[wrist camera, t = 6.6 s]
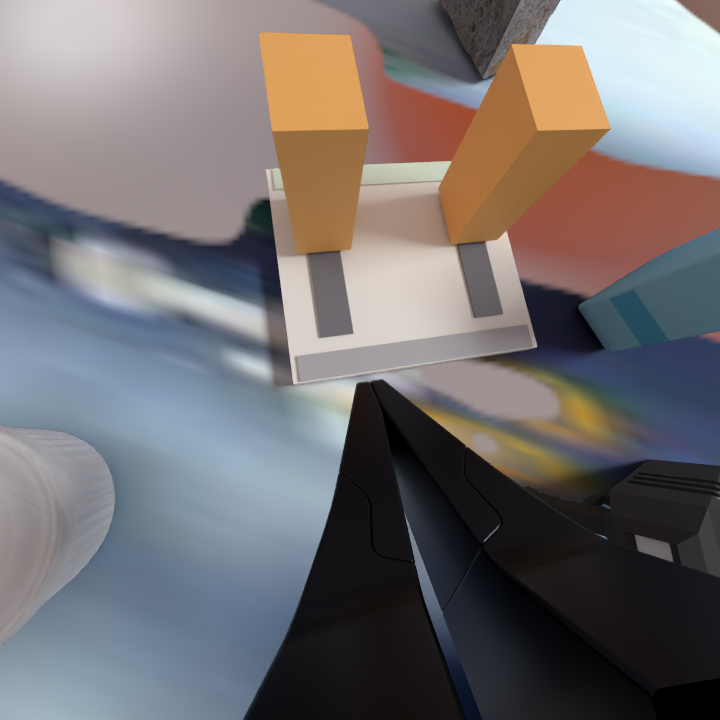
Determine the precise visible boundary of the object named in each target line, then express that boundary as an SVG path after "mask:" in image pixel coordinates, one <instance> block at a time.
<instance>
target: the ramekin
mask: <svg viewBox="0 0 720 720" xmlns="http://www.w3.org/2000/svg"><path fill="white" fill-rule="evenodd" d="M114 508H115V488H114V484H113V478H112V476H111V473H110V469H109V468H108V466H107V464H106V462H105V461H104V459H103V458H102V456H101V455H100V454H99V453H98V452H97V451H96V450H95V449H94V448H93V447H92V446H90V445H89V444H87V443H86V442H85V441H83V440H81V439H79V438H77V437H76V436H71V435H69V434H67V433H64V432H58V431H54V430H44V429H32V428H16V427H6V426H2V425H0V646H1V645H2V644H4V643H5V642H6V641H7V640H9V639H10V638H11V637H12V636H13V635H14V634H16V633H17V632H18V631H19V630H20V629H21V628H22V627H23V626H24V625H25V624H26V623H27V622H28V621H29V620H30V619H31V618H32V616H33V615H34V614H35V613H36V612H37V611H38V610H39V608H40V607H41V606H43V605H44V604H45V603H46V602H47V601H48V600H49V599H50V598H52V597H53V596H54V595H55V594H56V593H57V592H58V591H59V590H60V589H62V588H63V587H64V586H65V585H66V584H67V583H69V582H70V581H71V580H72V579H73V578H74V577H75V576H76V575H77V574H78V573H79V572H80V571H81V569H82V568H84V567H85V566H86V565H87V564H88V562H89V561H90V559H91V558H92V556H93V555H94V554H95V553H96V552H97V551H98V549H99V547H100V545H101V544H102V543H103V541H104V539H105V536H106V534H107V533H108V530H109V527H110V524H111V522H112V518H113V513H114Z"/></svg>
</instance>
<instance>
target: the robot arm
mask: <svg viewBox="0 0 720 720" xmlns="http://www.w3.org/2000/svg"><path fill="white" fill-rule="evenodd" d="M404 512H405V514H406V517H407V520H408V522H409V525H410V528H411V530H412V533H413V536H414V538H415V541H416V544H417V546H418V549H419V552H420V554H421V557H422V560H423V562H424V565H425V568H426V570H427V573H428V576H429V578H430V581H431V583H432V586H433V589H434V591H435V594H436V597H437V599H438V602H439V605H440V607H441V610H442V612H443V616H444V618H445V621H446V624H447V626H448V629H449V632H450V634H451V637H452V640H453V642H454V645H455V648H456V650H457V653H458V656H459V658H460V661H461V664H462V666H463V669H464V672H465V674H466V677H467V680H468V682H469V685H470V688H471V690H472V693H473V695H474V698H475V701H476V703H477V706H478V709H479V711H480V714H481V717H482V719H483V720H720V577H717V576H714V575H711V574H708V573H705V572H702V571H699V570H696V569H693V568H690V567H687V566H684V565H680V564H677V563H674V562H671V561H668V560H665V559H662V558H659V557H656V556H653V555H650V554H647V553H643V552H640V551H637V550H634V549H631V548H628V547H625V546H622V545H619V544H617V543H614V542H612V541H609V540H607V539H605V538H603V537H601V536H599V535H597V534H595V533H593V532H591V531H589V530H587V529H586V528H584V527H582V526H581V525H579V524H577V523H576V522H574V521H573V520H571V519H570V518H568V517H567V516H565V515H564V514H562V513H561V512H559V511H558V510H556V509H555V508H553V507H552V506H550V505H549V504H547V503H546V502H544V501H543V500H541V499H540V498H538V497H537V496H535V495H534V494H532V493H531V492H529V491H528V490H526V489H525V488H523V487H522V486H520V485H519V484H517V483H516V482H514V481H513V480H511V479H510V478H509V477H507V476H506V475H504V474H503V473H501V472H500V471H498V470H497V469H496V468H494V467H493V466H492V465H490V464H489V463H488V462H487V461H485V460H484V459H483V458H481V457H480V456H479V455H477V454H476V453H475V452H474V451H472V450H471V449H470V448H469V447H466V445H465V444H463V443H462V442H461V441H460V440H458V439H457V438H456V437H455V436H453V435H452V434H451V433H450V432H448V431H447V430H446V429H445V428H443V427H442V426H441V425H440V424H438V423H437V422H436V421H435V420H433V419H432V418H431V417H429V416H428V415H427V414H426V413H424V412H423V411H422V410H421V409H419V408H418V407H417V406H416V405H414V404H413V403H412V402H411V401H409V400H408V399H407V398H406V397H404V396H403V395H402V394H401V393H399V392H398V391H397V390H396V389H394V388H393V387H392V386H391V385H389V384H388V383H387V382H386V381H384V380H382V379H380V380H373V381H371V382H368V381H367V382H361V383H357V385H356V389H355V394H354V399H353V404H352V409H351V414H350V419H349V424H348V429H347V434H346V439H345V444H344V449H343V454H342V459H341V464H340V469H339V474H338V478H337V483H336V488H335V492H334V496H333V501H332V505H331V509H330V512H329V515H328V518H327V522H326V525H325V528H324V532H323V535H322V537H321V540H320V543H319V546H318V549H317V552H316V555H315V558H314V561H313V564H312V567H311V570H310V573H309V576H308V579H307V581H306V584H305V587H304V590H303V593H302V596H301V599H300V601H299V604H298V607H297V609H296V612H295V614H294V617H293V619H292V622H291V624H290V627H289V629H288V631H287V634H286V636H285V638H284V640H283V642H282V644H281V646H280V648H279V650H278V652H277V654H276V656H275V658H274V660H273V662H272V664H271V666H270V668H269V670H268V672H267V674H266V676H265V678H264V680H263V681H262V683H261V685H260V687H259V689H258V691H257V693H256V695H255V697H254V699H253V701H252V703H251V705H250V707H249V709H248V711H247V713H246V715H245V717H244V719H243V720H466V717H465V714H464V712H463V709H462V706H461V703H460V700H459V697H458V695H457V692H456V689H455V686H454V683H453V680H452V678H451V675H450V672H449V669H448V666H447V663H446V661H445V658H444V655H443V652H442V649H441V646H440V644H439V641H438V638H437V635H436V632H435V629H434V627H433V624H432V621H431V618H430V615H429V612H428V610H427V607H426V604H425V601H424V597H423V593H422V590H421V586H420V582H419V578H418V574H417V570H416V566H415V560H414V555H413V551H412V546H411V542H410V537H409V532H408V528H407V523H406V519H405V514H404Z"/></svg>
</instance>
